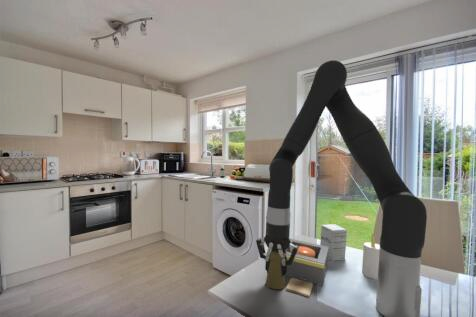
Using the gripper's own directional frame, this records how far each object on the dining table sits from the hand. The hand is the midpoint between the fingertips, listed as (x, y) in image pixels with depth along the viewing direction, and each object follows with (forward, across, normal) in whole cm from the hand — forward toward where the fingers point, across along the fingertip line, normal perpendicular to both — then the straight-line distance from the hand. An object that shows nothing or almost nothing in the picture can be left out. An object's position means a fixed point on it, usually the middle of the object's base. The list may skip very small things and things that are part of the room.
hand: (275, 273), depth 73 cm
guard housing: (+4, -6, -16) cm, 18 cm away
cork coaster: (+4, -7, -3) cm, 9 cm away
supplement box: (+4, -15, -33) cm, 37 cm away
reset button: (0, -6, -16) cm, 17 cm away
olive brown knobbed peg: (+4, 0, 0) cm, 4 cm away
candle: (+4, -29, -25) cm, 38 cm away
